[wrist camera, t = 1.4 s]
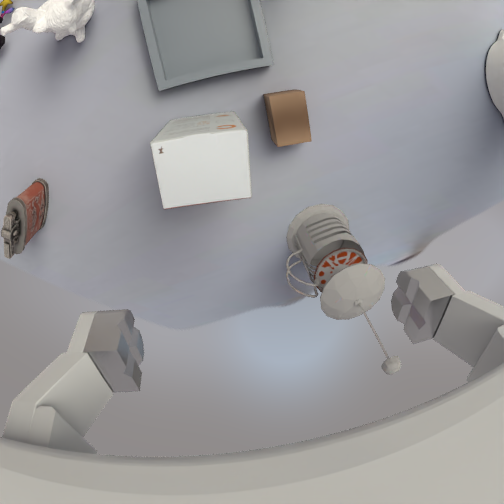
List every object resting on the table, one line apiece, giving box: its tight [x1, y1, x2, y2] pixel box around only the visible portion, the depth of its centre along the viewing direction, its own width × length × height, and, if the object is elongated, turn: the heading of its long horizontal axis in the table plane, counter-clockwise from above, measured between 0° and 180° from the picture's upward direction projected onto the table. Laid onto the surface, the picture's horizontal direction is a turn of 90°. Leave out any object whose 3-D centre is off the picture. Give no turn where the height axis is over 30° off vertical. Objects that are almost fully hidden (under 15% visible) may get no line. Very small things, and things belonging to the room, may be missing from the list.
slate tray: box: [137, 0, 274, 91], centre depth 27 cm, size 13×13×2 cm
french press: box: [286, 204, 401, 375], centre depth 34 cm, size 10×12×25 cm
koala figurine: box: [1, 0, 95, 43], centre depth 19 cm, size 8×7×12 cm
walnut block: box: [263, 89, 311, 147], centre depth 33 cm, size 6×4×4 cm, turn 11°
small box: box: [150, 112, 252, 209], centre depth 30 cm, size 8×6×13 cm
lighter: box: [1, 178, 49, 259], centre depth 32 cm, size 8×3×10 cm, turn 155°
